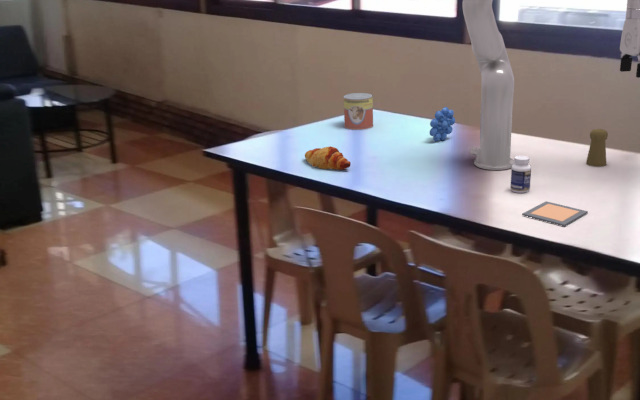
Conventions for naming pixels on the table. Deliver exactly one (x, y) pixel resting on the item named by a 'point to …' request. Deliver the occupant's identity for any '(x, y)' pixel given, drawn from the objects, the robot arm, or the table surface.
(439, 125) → the grapes
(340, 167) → the croissant
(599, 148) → the cork
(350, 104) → the canned food
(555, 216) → the coaster
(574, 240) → the table surface
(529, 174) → the pill bottle
